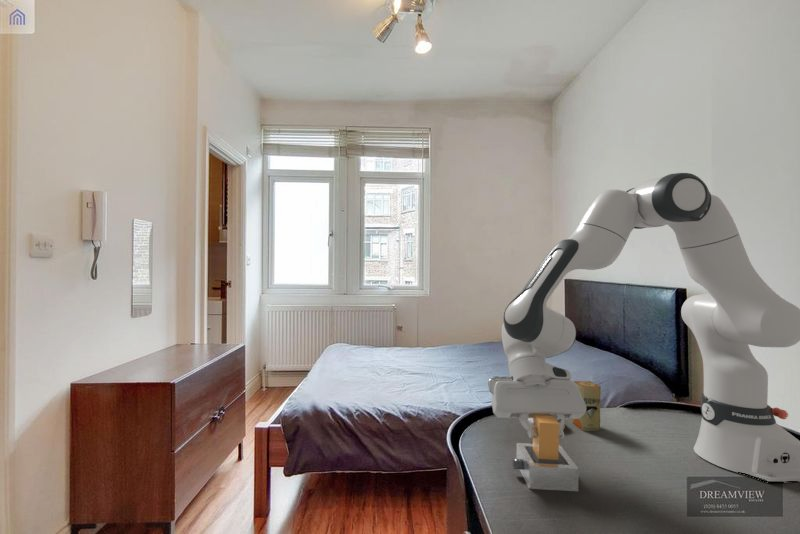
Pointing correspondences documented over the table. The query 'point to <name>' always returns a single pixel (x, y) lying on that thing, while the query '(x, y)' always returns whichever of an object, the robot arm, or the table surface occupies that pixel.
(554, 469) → the white shallow box
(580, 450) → the table surface
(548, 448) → the plug
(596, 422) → the shoe polish box
